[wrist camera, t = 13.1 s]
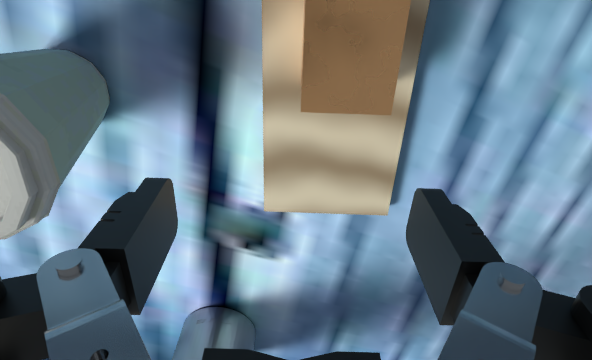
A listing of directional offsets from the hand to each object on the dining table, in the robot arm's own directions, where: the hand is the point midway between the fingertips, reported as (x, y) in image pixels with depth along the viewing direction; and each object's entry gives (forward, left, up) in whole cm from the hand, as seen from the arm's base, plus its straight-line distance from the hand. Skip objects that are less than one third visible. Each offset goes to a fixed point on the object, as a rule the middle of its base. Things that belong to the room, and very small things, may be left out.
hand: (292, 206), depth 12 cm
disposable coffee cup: (-3, +19, -21) cm, 28 cm away
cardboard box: (+2, -3, -19) cm, 20 cm away
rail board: (-3, -3, -21) cm, 21 cm away
